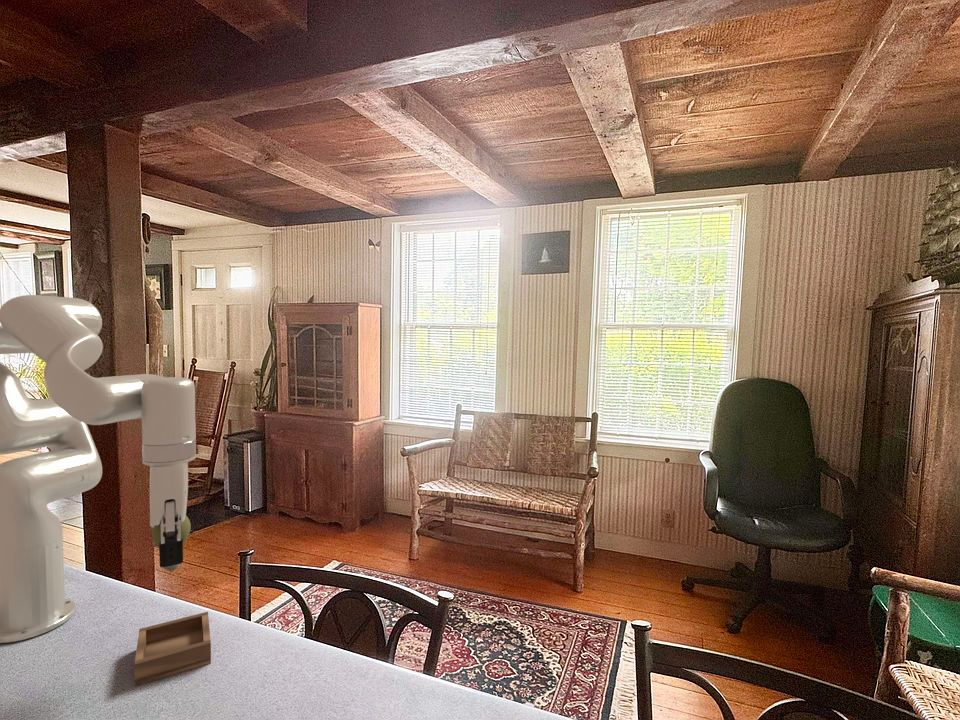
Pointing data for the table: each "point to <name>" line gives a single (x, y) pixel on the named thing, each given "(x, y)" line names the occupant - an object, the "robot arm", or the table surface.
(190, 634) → the open wooden box
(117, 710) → the table surface
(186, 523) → the light bulb
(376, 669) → the table surface
